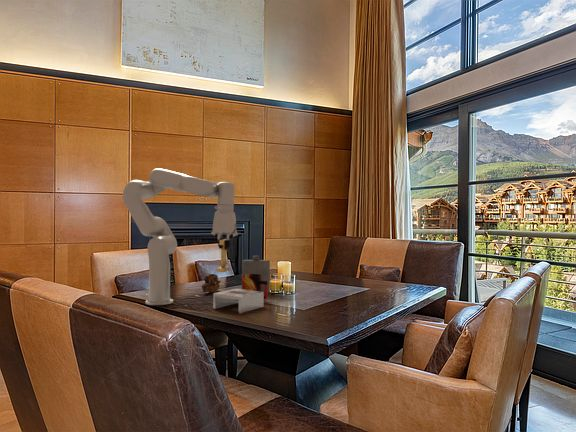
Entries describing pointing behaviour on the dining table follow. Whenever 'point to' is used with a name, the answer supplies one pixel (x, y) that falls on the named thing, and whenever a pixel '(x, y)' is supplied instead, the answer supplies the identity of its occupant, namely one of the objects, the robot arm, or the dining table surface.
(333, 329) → the dining table surface
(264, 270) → the flask
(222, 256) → the tall wooden post
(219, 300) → the white slotted holder
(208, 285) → the wooden carving
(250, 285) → the mug
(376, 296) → the dining table surface
